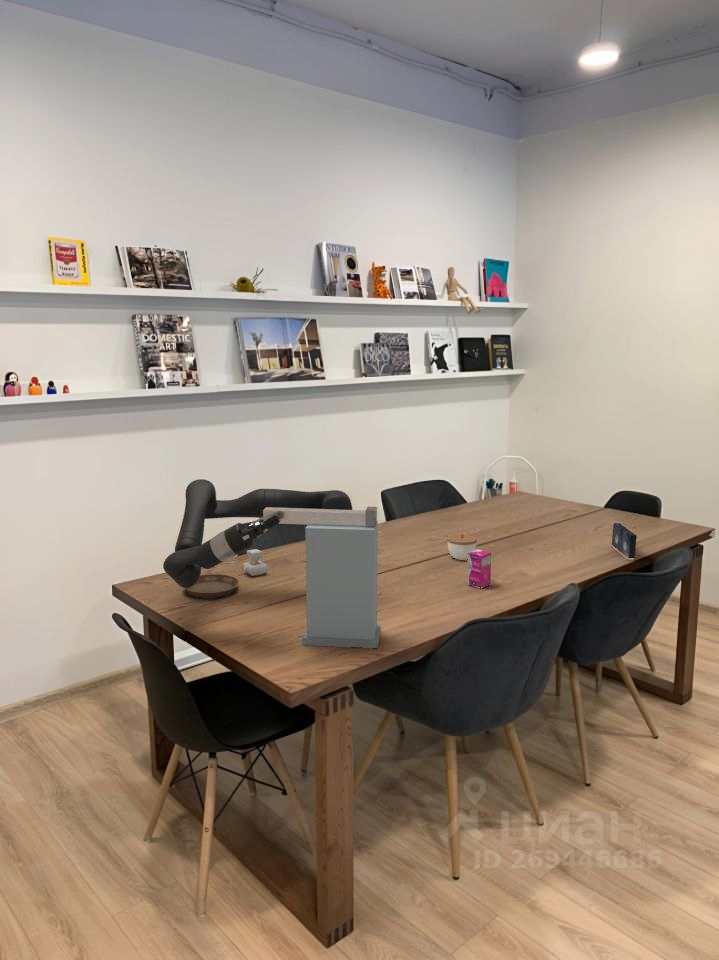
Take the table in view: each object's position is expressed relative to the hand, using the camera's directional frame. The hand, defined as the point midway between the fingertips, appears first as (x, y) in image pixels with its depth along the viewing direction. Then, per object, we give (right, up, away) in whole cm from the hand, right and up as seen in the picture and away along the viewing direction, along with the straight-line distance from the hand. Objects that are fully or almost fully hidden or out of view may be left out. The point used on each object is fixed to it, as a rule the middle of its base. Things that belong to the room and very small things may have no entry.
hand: (281, 514), depth 198 cm
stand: (+16, -34, +5) cm, 38 cm away
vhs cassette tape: (+121, -19, +84) cm, 149 cm away
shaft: (+10, -2, 0) cm, 10 cm away
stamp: (-15, -24, +59) cm, 65 cm away
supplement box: (+60, -26, +48) cm, 81 cm away
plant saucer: (-27, -27, +42) cm, 57 cm away
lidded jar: (+59, -20, +78) cm, 100 cm away
